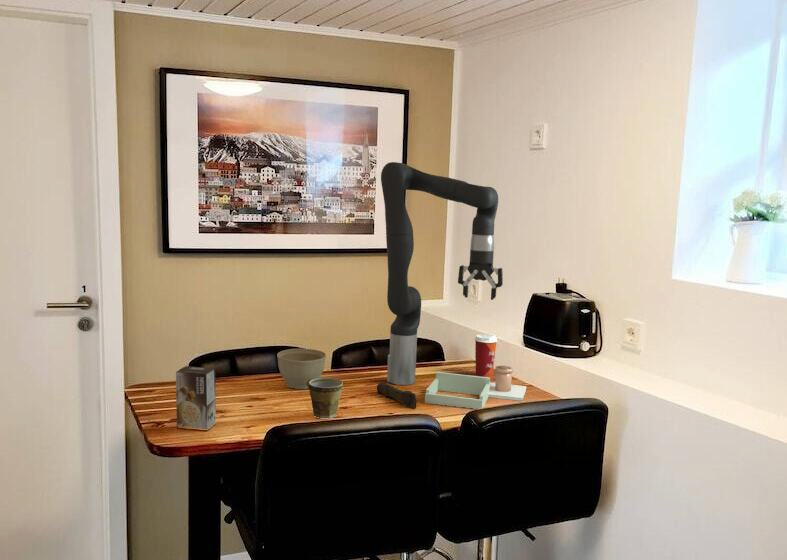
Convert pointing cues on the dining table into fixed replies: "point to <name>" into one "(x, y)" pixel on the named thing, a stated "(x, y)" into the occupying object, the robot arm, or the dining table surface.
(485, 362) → the coffee cup
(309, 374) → the planter bowl
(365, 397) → the dining table surface
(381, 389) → the hand tool
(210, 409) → the coffee box
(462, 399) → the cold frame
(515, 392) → the pale green square plate
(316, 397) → the ceramic cup
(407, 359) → the robot arm
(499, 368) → the lidded jar
